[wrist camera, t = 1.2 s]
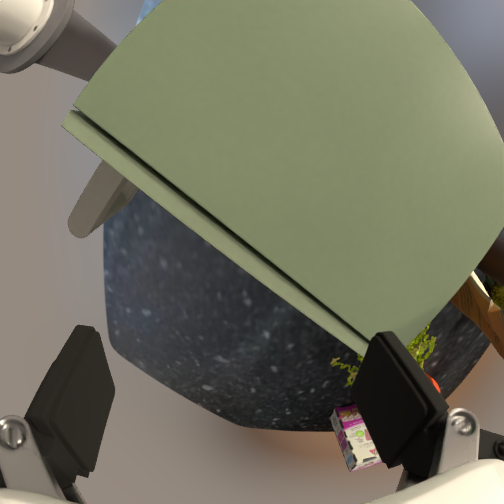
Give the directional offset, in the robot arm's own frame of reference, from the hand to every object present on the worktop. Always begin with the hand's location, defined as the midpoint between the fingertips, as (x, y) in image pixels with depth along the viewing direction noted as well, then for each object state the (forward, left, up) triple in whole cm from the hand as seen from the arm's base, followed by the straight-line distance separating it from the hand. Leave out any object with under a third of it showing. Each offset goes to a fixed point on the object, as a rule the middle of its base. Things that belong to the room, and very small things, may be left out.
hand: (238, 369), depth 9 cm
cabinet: (+1, +11, -31) cm, 33 cm away
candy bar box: (+54, -19, -31) cm, 65 cm away
